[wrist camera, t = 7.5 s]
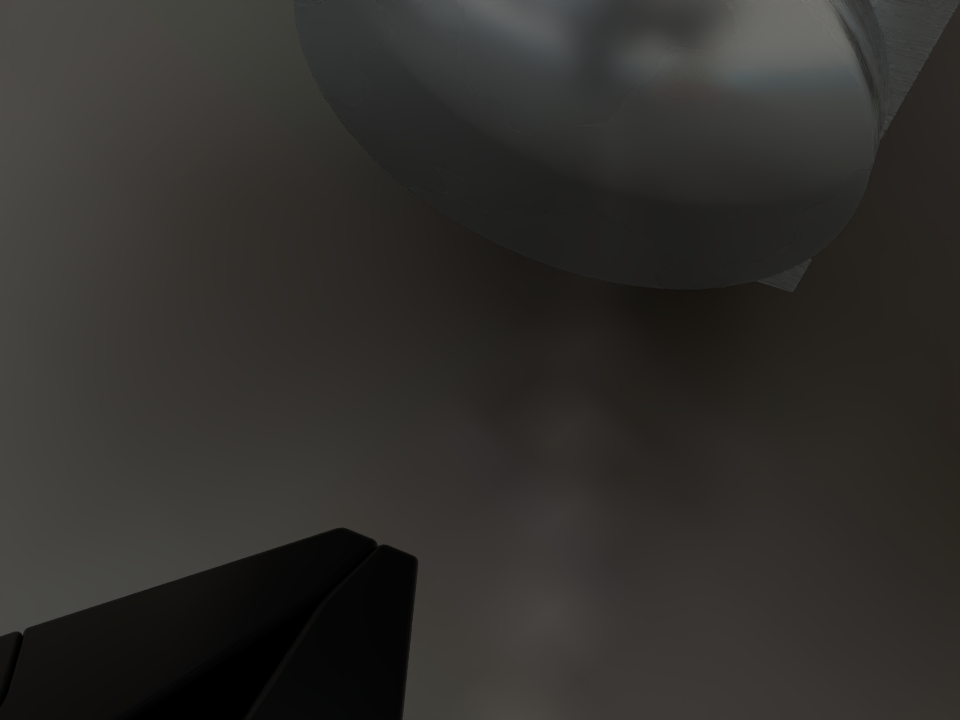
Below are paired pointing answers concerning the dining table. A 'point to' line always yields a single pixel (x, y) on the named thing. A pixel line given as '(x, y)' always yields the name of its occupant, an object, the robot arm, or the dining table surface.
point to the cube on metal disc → (629, 121)
